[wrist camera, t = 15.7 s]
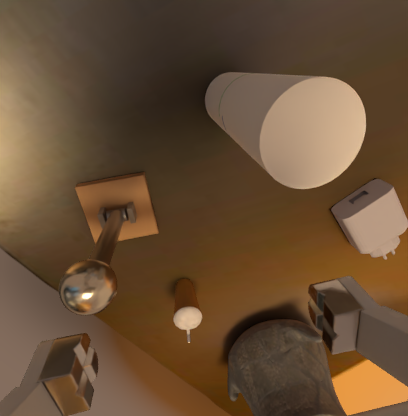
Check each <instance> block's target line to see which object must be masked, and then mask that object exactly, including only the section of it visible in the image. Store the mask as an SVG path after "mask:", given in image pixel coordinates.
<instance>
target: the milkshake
mask: <svg viewBox="0 0 408 416" xmlns="http://www.w3.org/2000/svg"><path fill="white" fill-rule="evenodd" d="M201 320H202V314H201V310H200V307H199V304H198V300H197V297H196V293H195V289H194V285H193V282H192V281H191V280H190V279H186V278H183V279H180V280H178V282H177V283H176V287H175V307H174V324H175V325H176V326H177V327H178V328H180V329H184V330H187V341H188V342H191V341H190V329H193V328H196V327H197V326H198V325H199V324H200V322H201Z"/></svg>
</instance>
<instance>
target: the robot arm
mask: <svg viewBox="0 0 408 416" xmlns="http://www.w3.org/2000/svg"><path fill="white" fill-rule="evenodd" d="M308 293H309V295H310V296H311V299H310V301H309V302H308V309H309V313H310V317H311V319H312V322H313V324H314V325H315V327H316V328H317V329H318V330H320V331H322V332H323V333H322V339H323V340H324V342H325V344H326V345H327V347H328V348H329V350H330V352H331V353H332V354H337V353H342V352H347V351H352V350H356V351H357V352H358V353H360V354H361V355H363V356H364V357H366V358H367V359H368V360H370V361H371V362H373V363H374V364H376V365H377V366H379V367H380V368H381V369H383V370H385V371H386V372H387V373H389V374H390V375H392V376H393V377H394V378H396V379H397V380H399V381H400V382H402V383H404V384H405V385H406V386H408V316H406V315H404V314H401V313H399V312H397V311H394V310H392V309H390V308H388V307H385V306H381V307H380V306H379V305H378V304H377V303H376V302H375V301H374V300H373V299H372V298H371V297H370V296H369V295H368V294H367V293H366V291H365V290H364V289H363V288H362V287H361V286H360V285H359V284H358V283H357V282H356V281H355V280H354V279H353V278H352V277H350V276H347V277H342V278H338V279H333V280H329V281H324V282H320V283H316V284H311V285H310V286H309V290H308ZM89 344H90V338H89V336H88V334H86V333H83V334H77V335H72V336H67V337H62V338H57V339H53V340H48V341H42V342H41V343H40V344H39V345H38V347H37V349H36V351H35V353H34V355H33V358H32V360H31V362H30V364H29V367H28V369H27V371H26V373H25V376H24V379H23V380H22V383H21V385H20V387H16V388H14V389H13V390H12V391H11V392H10V393H9V394H8V395H7V396H6V397H5V398H4V399H3V400H2V401H1V402H0V416H68V415H72V414H76V413H79V412H84V411H87V410H90V407H91V401H92V397H93V392H94V389H93V387H92V385H91V384H92V382H93V381H94V380H95V378H96V377H97V372H98V358H97V353H96V351H95V349H94V348H92V347H90V346H89ZM348 416H408V401H406V402H402V403H398V404H394V405H390V406H385V407H381V408H377V409H373V410H369V411H365V412H361V413H357V414H353V415H348Z"/></svg>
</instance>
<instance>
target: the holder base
mask: <svg viewBox="0 0 408 416" xmlns="http://www.w3.org/2000/svg"><path fill="white" fill-rule="evenodd" d="M75 189H76V192H77V195H78V198H79V200H80V203H81V206H82V208H83V211H84V214H85V217H86V219H87V222H88V225H89V227H90V230H91V233H92V236H93V238H94V241H95V244H96V242H97V240H98V238H99V236H100V234H101V232H102V230H103V228H104V226H105V223H106V221H107V217H106V212H107V211H109V210H115V209H120V208H127V213H128V216H129V220H128V221H124V223H123V226H122V229H121V232H120V235H119V238H118V241H121V240H126V239H131V238H136V237H141V236H146V235H151V234H157V233H158V225H157V221H156V217H155V213H154V209H153V204H152V200H151V196H150V192H149V188H148V184H147V180H146V176H145V172H140V173H135V174H129V175H124V176H118V177H113V178H107V179H102V180H96V181H91V182H86V183H80V184H77V185H76V187H75Z"/></svg>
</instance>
